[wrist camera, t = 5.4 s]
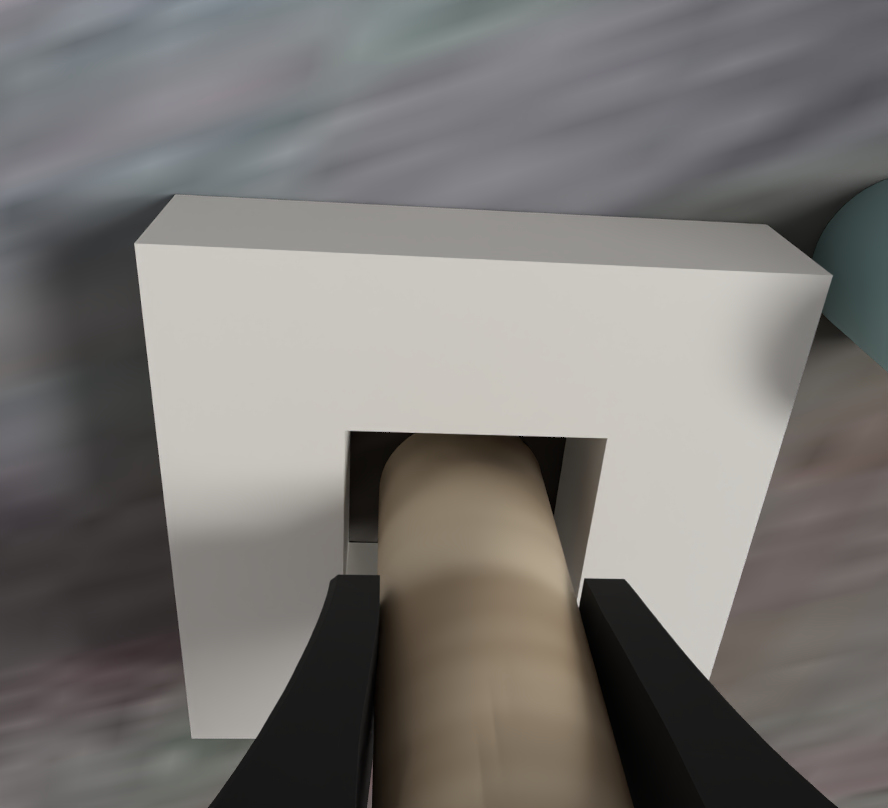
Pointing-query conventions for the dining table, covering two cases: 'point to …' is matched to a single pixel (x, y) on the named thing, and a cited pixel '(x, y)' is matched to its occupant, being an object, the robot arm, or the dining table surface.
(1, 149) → the dining table surface
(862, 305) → the short teal pin
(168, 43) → the dining table surface
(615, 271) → the collar block
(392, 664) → the long beech pin
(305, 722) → the robot arm
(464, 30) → the dining table surface
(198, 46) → the dining table surface
